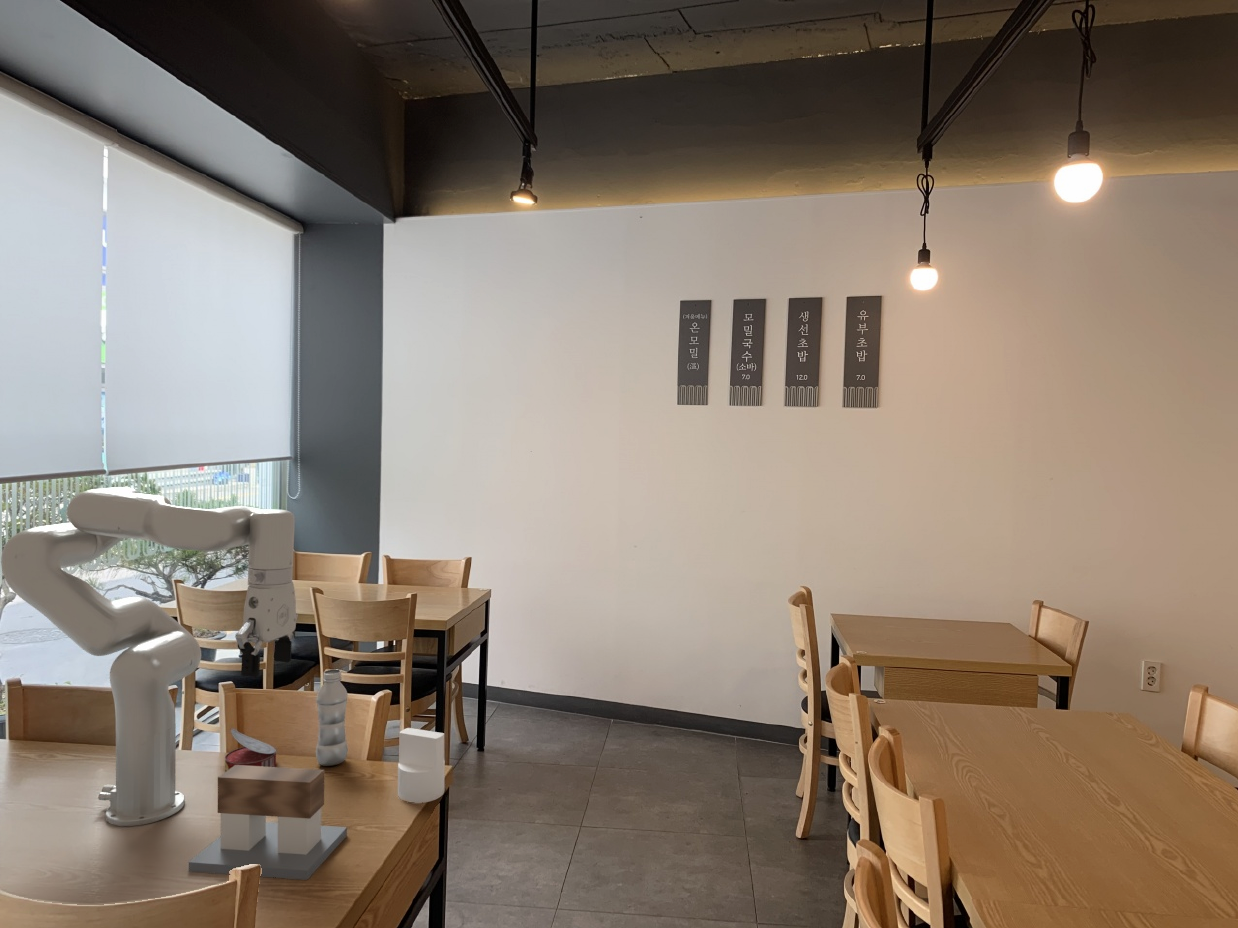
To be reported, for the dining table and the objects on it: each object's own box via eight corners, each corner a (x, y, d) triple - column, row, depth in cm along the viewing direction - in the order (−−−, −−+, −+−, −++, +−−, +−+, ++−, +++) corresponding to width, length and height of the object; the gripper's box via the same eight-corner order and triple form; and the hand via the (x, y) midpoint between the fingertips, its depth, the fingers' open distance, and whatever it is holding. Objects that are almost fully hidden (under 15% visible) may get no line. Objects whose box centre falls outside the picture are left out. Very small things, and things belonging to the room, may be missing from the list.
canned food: (240, 781, 167) (249, 733, 172) (282, 780, 165) (291, 732, 170) (206, 777, 157) (217, 726, 162) (251, 775, 156) (261, 724, 160)
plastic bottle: (352, 757, 169) (353, 667, 169) (338, 770, 162) (339, 676, 162) (324, 756, 170) (325, 666, 169) (309, 768, 163) (310, 675, 163)
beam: (217, 812, 128) (217, 777, 127) (235, 799, 133) (235, 764, 132) (309, 818, 126) (310, 782, 126) (324, 804, 131) (324, 769, 131)
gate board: (188, 871, 124) (188, 825, 123) (239, 828, 137) (239, 786, 137) (307, 879, 122) (307, 833, 121) (346, 835, 136) (347, 793, 135)
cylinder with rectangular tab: (452, 786, 156) (453, 728, 155) (428, 806, 147) (428, 744, 147) (414, 779, 158) (415, 722, 158) (388, 798, 150) (388, 737, 150)
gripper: (260, 586, 133) (256, 684, 133) (314, 570, 150) (311, 657, 150) (220, 582, 134) (217, 680, 134) (279, 568, 151) (276, 654, 151)
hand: (266, 668), depth 142 cm, fingers open, 9 cm apart
